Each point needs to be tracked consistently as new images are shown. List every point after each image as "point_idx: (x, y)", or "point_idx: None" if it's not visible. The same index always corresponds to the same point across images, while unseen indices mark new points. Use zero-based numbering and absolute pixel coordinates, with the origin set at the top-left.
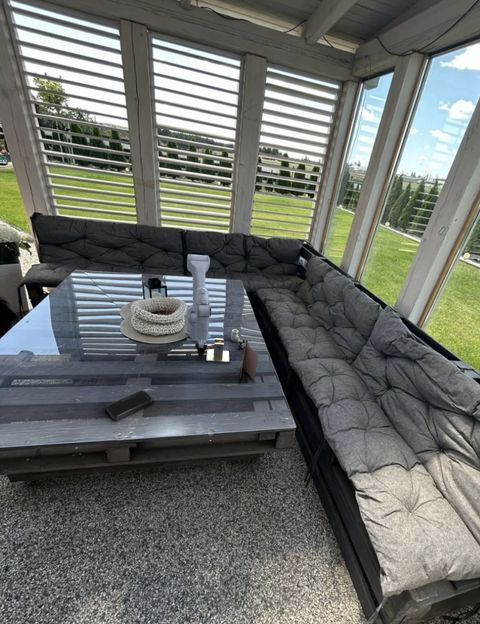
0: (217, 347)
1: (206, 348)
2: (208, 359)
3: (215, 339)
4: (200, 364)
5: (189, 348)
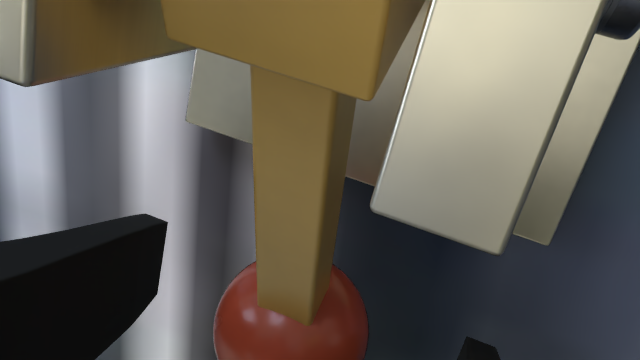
0: (617, 38)
1: (316, 286)
2: (532, 197)
3: (39, 48)
4: (588, 344)
5: (119, 348)
